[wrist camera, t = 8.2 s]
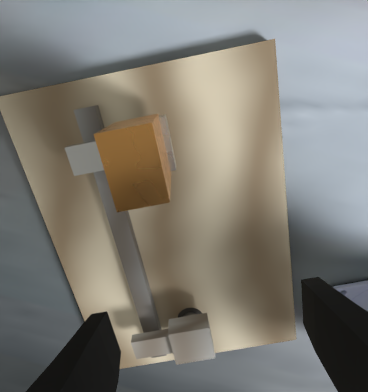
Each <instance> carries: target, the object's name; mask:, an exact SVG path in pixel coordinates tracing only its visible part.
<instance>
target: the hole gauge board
mask: <svg viewBox="0 0 368 392" xmlns="http://www.w3.org/2000/svg"><path fill="white" fill-rule="evenodd" d="M0 111H1V114H2V116H3V119H4V121H5V124H6V126H7V129H8V131H9V134H10V136H11V139H12V141H13V144H14V146H15V149H16V151H17V154H18V156H19V159H20V161H21V164H22V166H23V169H24V171H25V174H26V176H27V179H28V181H29V184H30V186H31V189H32V191H33V194H34V196H35V199H36V201H37V204H38V206H39V209H40V211H41V214H42V216H43V219H44V221H45V224H46V226H47V229H48V231H49V234H50V236H51V239H52V241H53V243H54V246H55V248H56V251H57V253H58V256H59V258H60V261H61V263H62V266H63V268H64V271H65V273H66V276H67V278H68V281H69V283H70V286H71V288H72V291H73V293H74V296H75V298H76V301H77V303H78V306H79V308H80V311H81V313H82V316H83V318H84V321H86V320H87V318H88V317H89V316H90V315H91V314H94V313H100V312H106V311H107V312H108V315H109V318H110V321H111V324H112V327H113V330H114V333H115V336H116V339H117V342H118V344H119V347H120V350H121V359H120V369H122V368H128V367H134V366H140V365H146V364H152V363H158V362H164V361H170V360H175V362H176V365H177V364H183V363H189V362H195V361H201V360H207V359H213V358H215V353H218V352H224V351H230V350H236V349H242V348H248V347H254V346H260V345H266V344H272V343H278V342H284V341H290V340H296V328H295V314H294V300H293V286H292V271H291V257H290V243H289V229H288V215H287V201H286V187H285V173H284V159H283V145H282V131H281V117H280V103H279V89H278V74H277V60H276V46H275V39H272V40H267V41H262V42H257V43H253V44H248V45H243V46H238V47H233V48H229V49H224V50H219V51H214V52H210V53H205V54H200V55H195V56H190V57H186V58H181V59H176V60H171V61H166V62H162V63H157V64H152V65H147V66H143V67H138V68H133V69H128V70H123V71H119V72H114V73H109V74H104V75H99V76H95V77H90V78H85V79H80V80H76V81H71V82H66V83H61V84H56V85H52V86H47V87H42V88H37V89H33V90H28V91H23V92H18V93H13V94H9V95H4V96H0ZM153 114H158V115H164V114H166V117H167V122H168V127H169V132H170V136H171V141H172V146H173V151H174V156H175V161H176V170H174V171H171V192H170V203H164V204H159V205H154V206H149V207H143V208H138V209H133V210H127V211H122V212H117V211H116V208H115V204H114V201H113V198H112V194H111V191H110V188H109V184H108V181H107V178H106V174H105V171H104V170H103V171H97V172H92V173H87V174H82V175H77V176H74V174H73V171H72V168H71V165H70V163H69V160H68V157H67V154H66V151H65V147H67V146H68V145H73V144H78V143H83V142H88V141H93V140H95V138H94V134H95V133H97V132H98V131H100V130H102V129H104V128H105V127H107V126H109V125H111V124H113V123H114V122H119V121H124V120H128V119H133V118H138V117H143V116H148V115H153Z"/></svg>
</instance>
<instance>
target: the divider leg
mask: <svg viewBox="0 0 368 392" xmlns="http://www.w3.org/2000/svg"><path fill="white" fill-rule="evenodd" d="M94 138H95V140H93V141H88V142H83V143H78V144H73V145H68V146H67V147H65V151H66V154H67V157H68V160H69V163H70V165H71V168H72V171H73V174H74V176H77V175H82V174H87V173H92V172H97V171H103V170H104V171H105V174H106V178H107V181H108V184H109V188H110V191H111V194H112V198H113V201H114V204H115V208H116V211H117V212H122V211H127V210H133V209H138V208H143V207H149V206H154V205H159V204H164V203H170V192H171V171H174V170H176V161H175V156H174V151H173V146H172V141H171V136H170V132H169V127H168V122H167V117H166V114H164V115H158V114H153V115H148V116H143V117H138V118H133V119H128V120H124V121H119V122H114V123H113V124H111V125H109V126H107V127H105V128H104V129H102V130H100V131H98V132H97V133H95V134H94Z"/></svg>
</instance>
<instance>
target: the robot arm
mask: <svg viewBox="0 0 368 392" xmlns="http://www.w3.org/2000/svg"><path fill="white" fill-rule="evenodd" d="M301 284H302V304H303V324H304V326H305V329H306V331H307V333H308V336H309V338H310V341H311V343H312V345H313V347H314V350H315V352H316V354H317V355H318V357H319V359H320V361H321V363H322V364H323V366H324V368H325V370H326V372H327V373H328V375H329V377H330V379H331V380H332V382H333V384H334V386H335V387H336V389H337V391H338V392H368V280H367V281H361V282H356V283H350V284H344V285H338V286H333V287H332V286H330V285H329V284H327V283H326V282H325V281H323V280H322V279H320V278H319V277H316V278H310V279H304V280H301ZM343 290H344V291H343ZM341 291H343V292H341ZM120 359H121V350H120V347H119V344H118V342H117V339H116V336H115V333H114V330H113V327H112V324H111V321H110V318H109V315H108V312H107V311H106V312H100V313H94V314H91V315H90V316H89V317H88V318H87V320H86V321H85V322H84V323H83V325H82V326H81V327H80V328H79V330H78V331H77V332H76V333H75V335H74V336H73V337H72V338H71V340H70V341H69V342H68V343H67V344H66V346H65V347H64V348H63V349H62V351H61V352H60V353H59V354H58V355H57V357H56V358H55V359H54V360H53V361H52V363H51V364H50V365H49V366H48V367H47V368H46V369H45V371H44V372H43V373H42V374H41V375H40V376H39V377H38V378H37V380H36V381H35V382H34V383H33V384H32V385H31V386H30V387H29V389H28V390H27V391H26V392H116V389H117V384H118V377H119V369H120Z"/></svg>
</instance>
